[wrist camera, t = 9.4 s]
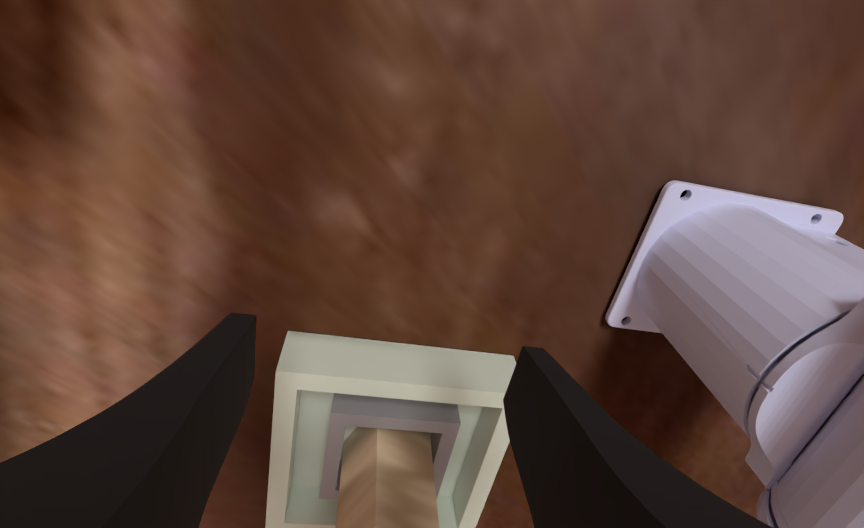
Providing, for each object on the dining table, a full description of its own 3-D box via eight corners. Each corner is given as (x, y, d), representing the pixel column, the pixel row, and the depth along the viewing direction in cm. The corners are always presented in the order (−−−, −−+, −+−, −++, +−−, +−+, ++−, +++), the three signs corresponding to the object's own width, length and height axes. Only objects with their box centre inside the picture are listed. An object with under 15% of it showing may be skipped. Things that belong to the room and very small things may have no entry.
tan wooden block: (429, 427, 27) (441, 549, 21) (394, 462, 29) (396, 588, 22) (378, 403, 26) (375, 525, 20) (343, 441, 27) (331, 568, 21)
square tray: (513, 355, 26) (527, 395, 24) (462, 497, 32) (469, 541, 29) (287, 330, 24) (275, 370, 22) (275, 486, 30) (265, 533, 27)
